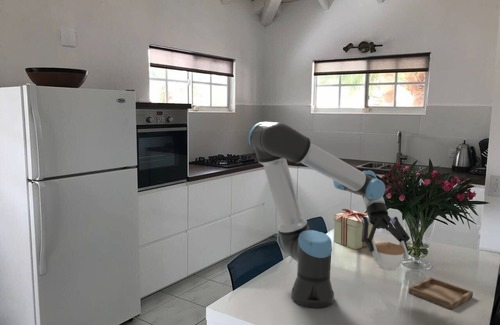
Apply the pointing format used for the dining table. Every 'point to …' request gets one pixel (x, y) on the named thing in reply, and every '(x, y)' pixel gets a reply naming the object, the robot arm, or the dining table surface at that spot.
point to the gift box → (350, 229)
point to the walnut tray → (441, 293)
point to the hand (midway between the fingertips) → (391, 259)
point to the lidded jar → (389, 255)
